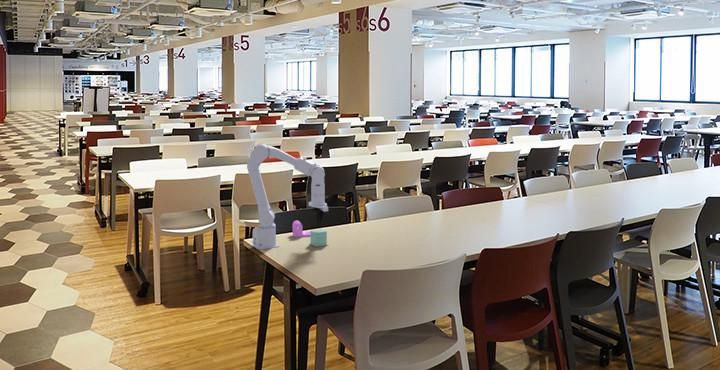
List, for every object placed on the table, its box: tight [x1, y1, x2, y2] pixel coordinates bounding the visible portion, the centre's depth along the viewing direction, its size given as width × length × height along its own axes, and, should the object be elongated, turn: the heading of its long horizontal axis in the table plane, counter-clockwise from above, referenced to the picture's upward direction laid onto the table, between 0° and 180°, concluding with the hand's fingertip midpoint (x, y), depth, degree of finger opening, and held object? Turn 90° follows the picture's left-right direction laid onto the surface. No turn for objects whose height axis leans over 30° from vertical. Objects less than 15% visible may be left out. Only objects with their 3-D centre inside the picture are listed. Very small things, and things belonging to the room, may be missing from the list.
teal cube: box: [309, 229, 328, 248], centre depth 272 cm, size 5×5×6 cm
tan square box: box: [308, 243, 329, 248], centre depth 273 cm, size 6×6×4 cm
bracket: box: [292, 220, 310, 238], centre depth 291 cm, size 13×6×7 cm, turn 104°
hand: (318, 225), depth 272 cm, fingers closed
